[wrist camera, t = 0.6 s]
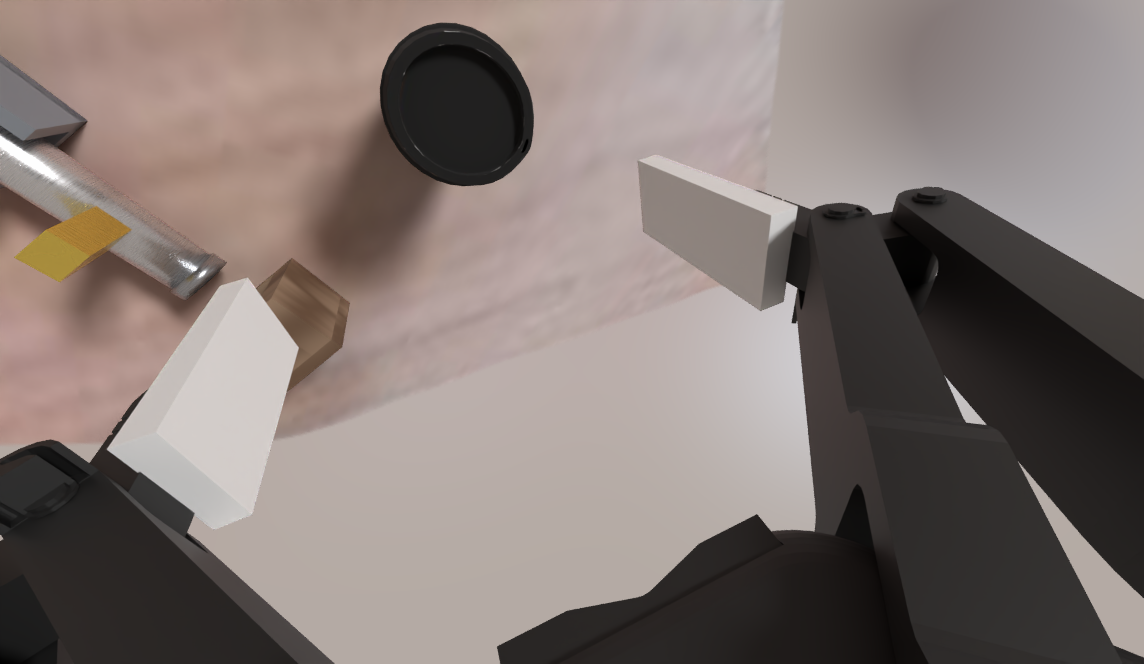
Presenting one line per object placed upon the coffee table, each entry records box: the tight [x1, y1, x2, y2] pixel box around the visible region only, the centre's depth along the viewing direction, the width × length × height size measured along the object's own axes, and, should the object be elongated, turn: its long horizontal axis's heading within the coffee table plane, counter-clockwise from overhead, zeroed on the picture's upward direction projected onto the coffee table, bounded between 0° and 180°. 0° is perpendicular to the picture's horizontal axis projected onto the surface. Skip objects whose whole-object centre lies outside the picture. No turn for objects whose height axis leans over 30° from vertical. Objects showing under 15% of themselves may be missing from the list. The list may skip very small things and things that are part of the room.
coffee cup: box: [380, 23, 534, 186], centre depth 29 cm, size 8×8×15 cm
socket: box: [256, 259, 350, 392], centre depth 36 cm, size 6×9×8 cm, turn 123°
